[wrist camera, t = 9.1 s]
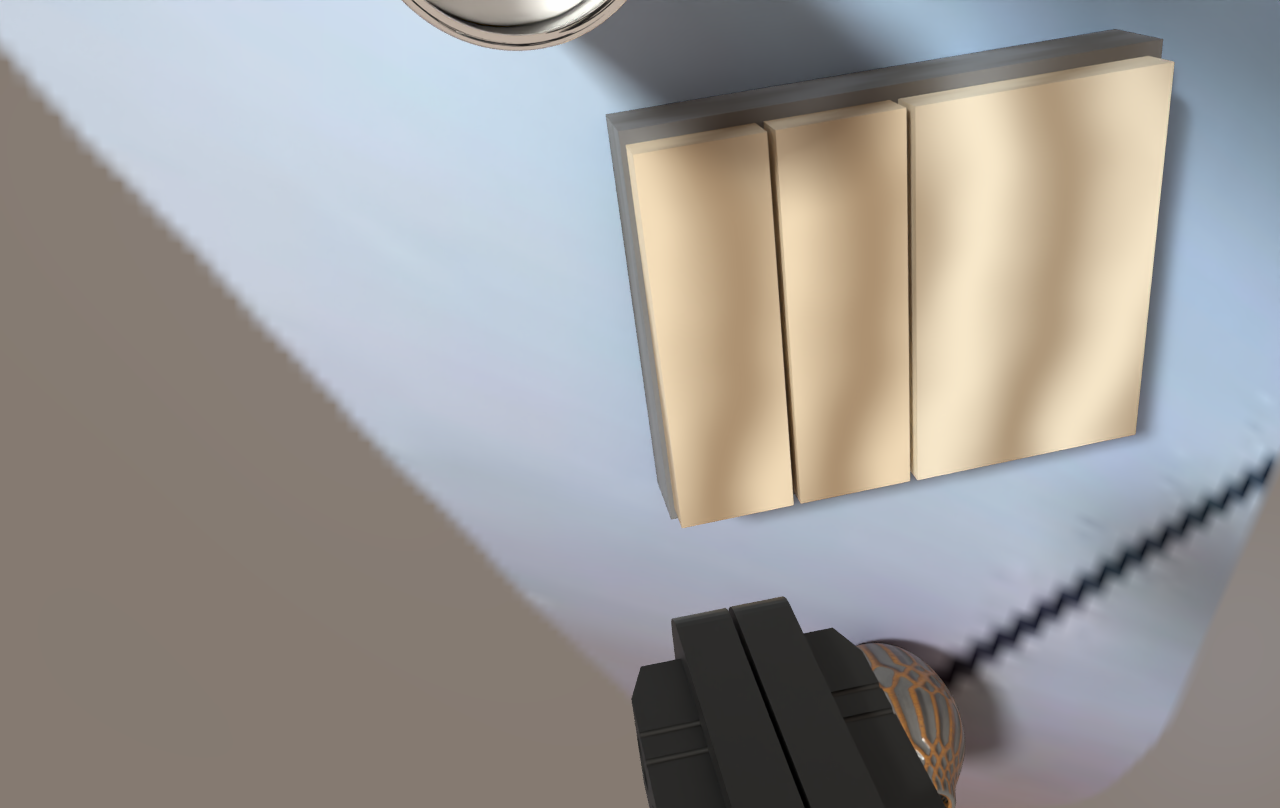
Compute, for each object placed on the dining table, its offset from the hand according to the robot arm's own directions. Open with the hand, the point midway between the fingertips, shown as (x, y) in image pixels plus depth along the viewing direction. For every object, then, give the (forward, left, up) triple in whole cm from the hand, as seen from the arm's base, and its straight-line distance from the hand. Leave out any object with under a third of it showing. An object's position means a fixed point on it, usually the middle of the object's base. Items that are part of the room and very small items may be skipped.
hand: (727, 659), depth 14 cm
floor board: (+4, +14, -28) cm, 32 cm away
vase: (+26, +16, -29) cm, 42 cm away
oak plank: (+4, +18, -25) cm, 31 cm away
